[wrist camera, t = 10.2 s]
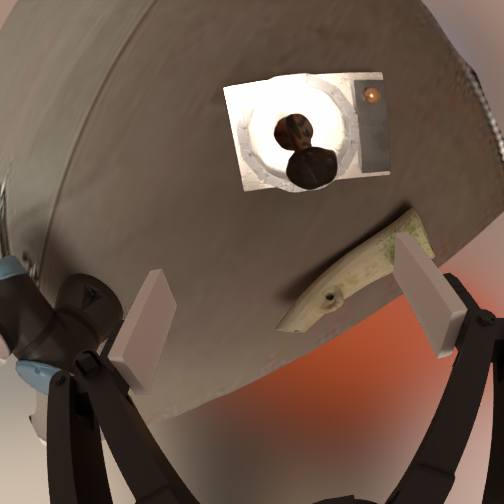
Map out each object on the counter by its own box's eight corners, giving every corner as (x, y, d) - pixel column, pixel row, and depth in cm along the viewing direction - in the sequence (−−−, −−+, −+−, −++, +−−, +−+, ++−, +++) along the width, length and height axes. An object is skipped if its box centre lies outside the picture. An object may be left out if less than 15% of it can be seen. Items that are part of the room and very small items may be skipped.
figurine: (324, 154, 37) (364, 207, 21) (288, 168, 38) (303, 231, 22) (301, 101, 33) (330, 112, 18) (264, 117, 35) (260, 140, 19)
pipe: (405, 196, 43) (434, 224, 34) (426, 232, 46) (453, 264, 37) (272, 294, 53) (272, 334, 45) (301, 319, 56) (305, 360, 48)
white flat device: (246, 183, 43) (243, 199, 38) (227, 86, 36) (220, 86, 31) (380, 168, 41) (396, 181, 35) (371, 72, 34) (389, 70, 28)
